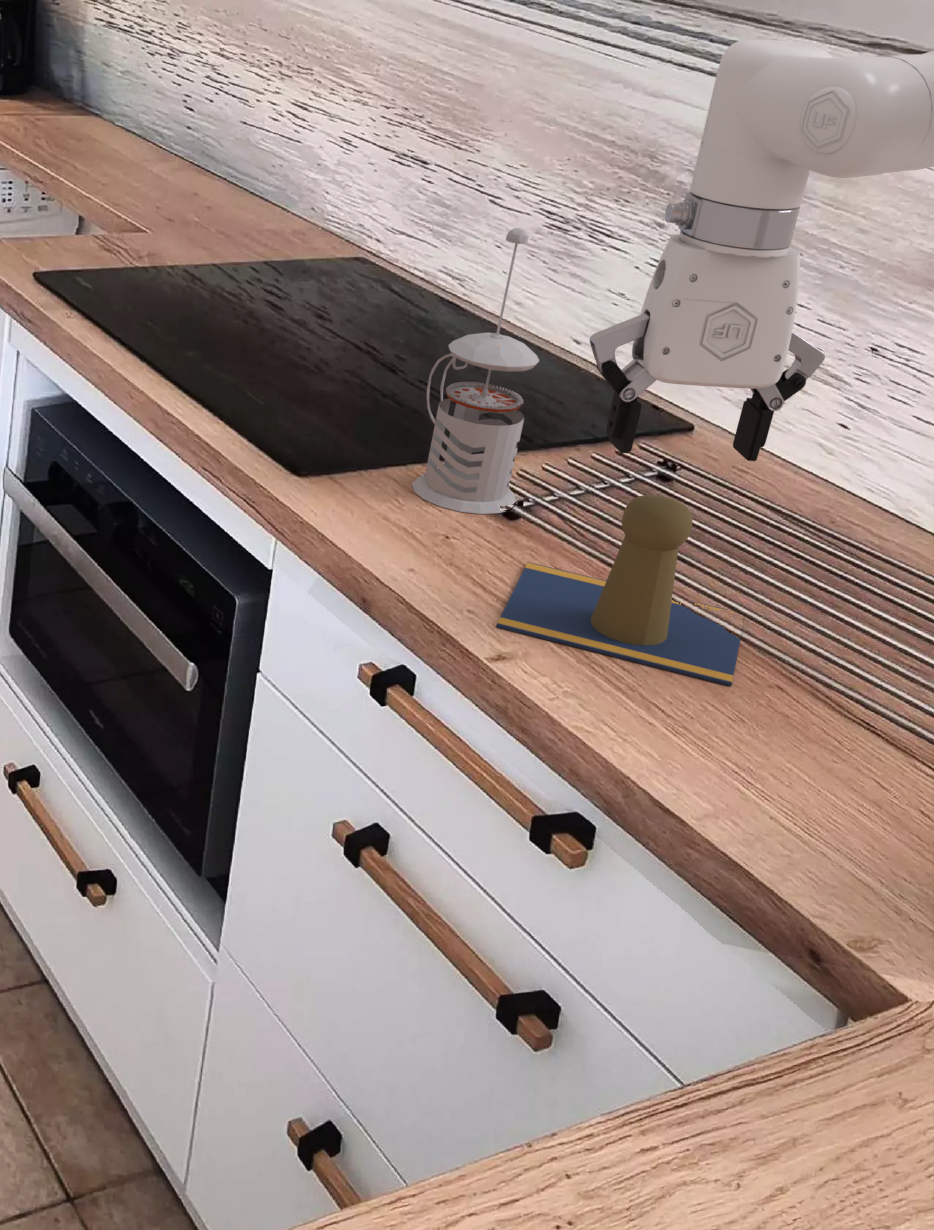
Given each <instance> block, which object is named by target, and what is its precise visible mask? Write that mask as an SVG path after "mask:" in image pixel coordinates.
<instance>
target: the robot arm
mask: <svg viewBox="0 0 934 1230" xmlns="http://www.w3.org/2000/svg"><path fill="white" fill-rule="evenodd" d="M707 110H708V111H707V115H706V119H705V124H704V128H703V133H702V136H701V141H700V145H699V149H698V152H697V158H696V163H695V166H694V170H693V175H692V179H691V184H690V187H689V192H688V191H687V192H686V193H685V196H684V200H683V202H681V201H680V202H678V203H668V204H667V206H666V209H665V212H664V220H665V222H666V223H668V224H669V223H670V224H675V225H676V226H678V227H677V228H678V229H679V230H680V231H679V233H678V234H671V235H670V237H669V238H668V241H667V243H666V245H665V247H664V249H663V251H662V254H661V256H660V258H659V260H658V262H657V265H656V267H655V270H654V273H653V275H652V277H651V280H650V282H649V286H648V289H647V292H646V294H645V298H644V300H643V303H642V308H641V310H640V314H638V315H636V316H633V317H631V318H629V319H626V320H624V321H621V322H619V323H616V324H614V325H611V326H609V327H606V328H604V329H602V330H599V331H597V332H594V333H593V334H591V336H590V337H589V344H590V349H591V352H592V354H593V357H594V360H595V364H596V369H597V371H598V372H599V373H600V375H601V377H603V379H604V380H605V382H606V383H607V384H608V385H609V387H610V389H611V390H612V392H613V396H612V401H611V405H610V406H611V407H610V410H609V415H608V419H607V423H606V430H605V431H606V436H607V437H608V439H609V442H610V443H611V444H612V446H613V447H614V448H615V450H617V451H618V452H619V453H620V454H629V453H630V452H632V450H633V445H634V441H635V437H636V433H637V429H638V425H639V420H640V416H641V411H642V403H641V402H639V400H638V398H639V396H641V394H642V393H644V392H645V391H646V390H647V389H648V388H650V387H651V386H652V385H653V384H654V383H655V382H657V381H658V382H660V383H665V384H671V385H682V386H683V385H685V386H699V387H715V388H730V389H732V388H733V389H750V392H751V393H752V396H751V397H746V398H745V399H746V400H744V401H743V404H742V408H741V412H740V415H739V419H738V423H737V427H736V430H735V433H734V438H733V442H732V448H733V449H734V450H735V451H736V452H737V453H739V455H741V457H742V458H744V459H745V460H746V461H748V462H756V461H757V460H758V456H759V453H760V450H761V448H764V447H765V445H766V443H767V440H768V435H769V432H770V428H771V424H772V422H773V417H774V413H775V412H778V411H780V410H781V409H782V408H783V406H784V404H785V402H786V401H787V400H789V399H790V398H792V397H793V396H794V395H796V394H797V393H799V391H802V390H803V388H804V387H805V386H806V383H807V380H808V379H809V378H811V377H812V376H813V375H814V373H815V372H816V371H817V370H818V368H819V367H820V366H821V365H822V364H823V363H824V361H825V359H826V354H825V353H824V352H823V351H822V350H820V349H819V348H818V347H816V346H815V345H813V344H811V343H810V342H809V341H807V340H806V339H804V338H803V337H802V336H800V335H798V334H797V333H795V332H794V331H793V329H794V322H795V317H796V311H797V305H798V304H797V303H798V295H799V294H798V293H799V285H800V272H801V270H800V269H801V252H800V251H799V250H797V249H795V248H792V247H791V244H792V240H793V235H794V233H795V228H796V225H797V220H798V217H799V213H800V210H801V206H802V203H803V200H804V199H803V198H804V194H805V191H806V187H807V182H808V179H809V176H810V172H814V173H816V174H820V175H822V176H826V177H831V178H836V179H837V178H838V179H839V178H840V179H853V178H854V179H855V178H861V177H871V176H877V175H883V174H889V173H891V174H892V173H900V172H906V171H907V172H908V171H910V172H911V171H919V170H924V169H929V168H934V50H932V51H929V52H925V53H922V54H921V53H920V54H893V55H876V56H862V57H861V56H859V57H833V56H832V55H831V54H830V52H829V51H827V50H825V49H823V48H822V47H818V46H814V45H811V44H806V43H803V42H796V41H788V40H780V39H767V38H766V39H765V38H752V39H749V38H748V39H742V40H739V41H736V42H734V43H732V44H731V45H729V46H728V48H727V49H725V51H724V53H723V54H722V56H721V58H720V61H719V64H718V69H717V72H716V76H715V81H714V85H713V89H712V93H711V98H710V101H709V106H708V109H707ZM631 342H632V347H631V356H632V360H631V361H630V362H628V363H627V364H626V365H625V366H624V367H623V368H620V366H619V365H618V363H617V360H616V359H617V358H616V355H615V354H616V350H617V349H618V348H619V347H622V346H623V345H626V344H629V343H631ZM789 352H790V353H792V354H793V355H794V360H793V362H792V363H791V365H790V367H789V368H787V369H785V366H786V362H787V358H788V354H789Z"/></svg>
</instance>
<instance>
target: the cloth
mask: <svg viewBox="0 0 934 1230" xmlns="http://www.w3.org/2000/svg"><path fill="white" fill-rule="evenodd" d="M606 581H607V579H601V578H597V577H592V576H589V575H585V574H580V573H577V572H576V573H575V572H572V571H568V570H563V569H559V568H555V567H550V566H546V565H542V564H538V563H535V562H534V563H533V562H529V561H527V562H526V565H525V567H524V568H523V570H522V572H521V574H520V577H519V579H518V581H517V582H516V585H515V586H514V588H513V590H512V593H511V595H510V597H509V599H508V601H507V603H506V605H505V606H504V609H503V611H502V613H501V615H500V617H499V618H498V621H497V623H496V625H495V627H496V628H497V629H501V630H506V631H511V632H514V633H518V634H522V635H525V636H529V637H534V638H538V639H542V640H546V641H549V642H552V643H553V642H554V643H558V644H562V645H566V646H569V647H574V648H577V649H581V650H586V651H590V652H593V653H598V654H601V655H604V656H610V657H613V658H617V659H621V660H625V661H629V662H634V663H638V664H640V665H644V666H649V667H653V668H657V669H660V670H665V671H667V672H668V671H669V672H673V673H676V674H680V675H685V676H688V677H693V678H696V679H699V680H705V681H708V682H711V683H716V684H720V685H725V686H728V687H732V685H733V681H734V675H735V669H736V665H737V660H738V655H739V648H740V643H741V639H740V638H737V637H736V636H735V635H733V634H731V633H729V632H728V631H726V630H725V629H724V628H723V627H722V626H720V625H718V624H716V623H715V622H713V621H710V620H708V619H707V618H703V617H701V616H699V615H697V614H695V613H694V612H692V611H691V610H690V609H687V608H686V607H684V606H682V605H681V603H680V604H679V603H678V602H675V601H673V600H672V603H671V610H670V618H669V626H668V634H667V639H666V640H665V641H664V642H662V643H659V644H656V645H634V644H628V643H624V642H619V641H617V640H614V639H611V638H609V637H607V636H605V635H603V634H601V633H599V632H598V631H597V630H596V629H595V628H594V627H593V626H592V624H591V622H590V621H591V617H592V614H593V612H594V610H595V607H596V605H597V602H598V600H599V598H600V595H601V593H602V590H603V588H604V586H605V583H606ZM690 601H691V602H695V601H694V600H690ZM696 602H697V601H696ZM695 605H696V603H695ZM697 605H702V607H704V605H705V607H709V609H710V607H711V610H712V608H713V610H726V611H727V610H729V611H730V610H731V609H727V608H722V607H719V606H714V605H710V604H706V603H701V602H697ZM707 605H708V606H707ZM714 608H715V609H714ZM732 611H733V612H732ZM734 611H735V610H731V611H730V613H735V612H734Z"/></svg>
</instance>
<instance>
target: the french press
mask: <svg viewBox="0 0 934 1230" xmlns="http://www.w3.org/2000/svg"><path fill="white" fill-rule="evenodd" d="M505 241H506V242H508V243H511V244H514V247H513V252H512V256H511V262H510V268H509V271H508V275H507V280H506V285H505V291H504V296H503V298H502V299H503V300H502V305H501V310H500V314H499V319H498V324H497V328H496V332H480V333H471V334H466V335H464V336H462V337H459V338H457V339H454V340H452V341H451V342H450V343H449V344H448V346H447V347H448V349H449V351H450V353H448V354H445V355H443V356H441V357H440V358H438V359H437V361H436V362H435V364H434V366H433V367H432V368H431V370H430V374H429V376H428V381H427V386H426V387H427V388H426V407H427V411H428V415H429V417H430V420H431V421H432V423H433V424H434V427H433V432H432V437H431V442H430V448H429V452H428V457H427V463H426V467H425V472H423V474H421V475H419V476H418V477H417V478H415V480H414V481H413V482H412V483H411V486H412V490H413V492H414V493H415V494H416V495H418V496H419V497H420V498H421V499H423V500H425V501H426V502H429V503H430V504H433V505H435V506H438V507H440V508H444V509H448V510H452V511H456V512H460V513H467V514H468V513H469V514H478V515H489V514H490V515H491V514H501V513H504V512H505V511H501V510H500V506H506V505H512V504H514V503H515V502H516V501H517V499H516V497H515V494H514V493H513V491H512V490H511V489H510V481H511V480H512V476H513V471H512V470H513V469H514V467H515V457H516V456H517V455H518V443H519V442H520V440H521V435H522V431H523V427H524V422H525V417H524V414H523V412H521V411H520V410H519V409H520V408H521V407H522V406H523V405H524V404H525V401H524V398H523V397H522V396H521V395H520V393H518V392H515V391H514V390H511V389H508V388H507V387H506V388H505V387H502V385H501V386H498V385H496V386H495V384H489V383H490V378H491V373H492V371H499V372H524V371H529V370H532V369H534V367H535V366H537V364H539V362H540V358H539V356H538V354H536V353H535V352H534V351H533V350H532V349H531V348H530V347H529V346H528V345H526V343H524V342H522V341H520V340H518V339H515V338H514V337H511V336H509V335H505V334H504V335H503V334H501V333H500V330H501V327H502V326H501V325H502V320H503V316H504V311H505V306H506V301H507V298H508V292H509V288H510V283H511V277H512V273H513V272H512V271H513V269H514V264H515V258H516V254H517V249H518V245H526V244H528V242H529V233H528V232H527V230H526V229H524V228H520V227H514V228H512V229H510V230H509V231H507V234H506V237H505ZM450 357H452V358H451V360H450V361H449V362H448V364H447V365H446V367H445V368H444V371H443V373H442V379H441V382H440V387H439V394H440V402H439V403H438V406H437V412H436V415H435V417H434V415H433V413H432V410H431V405H430V391H431V390H430V388H431V384H432V383H431V382H432V377H433V374H434V372H435V371H436V369H437V368H438V366H439V364H440V363H442V361H444V360H445V359H446V358H450ZM457 359H458V360H459V361H461V362H464V363H465V364H464V365H462V366H456V362H457ZM451 365H452V369H454V370H455V371H458V370H463V369H466V368H468V365H471V366H475V367H478V368H482V369H486V370H488V371H487V376H486V381H485V383H484V382H482V383H481V382H477V381H462V382H461V381H459V382H454V383H451V384H449V385H448V386H447V387H446V388H444V387H445V381H446V376H447V372H448V370H449V368H450V366H451ZM444 392H445V394H446V397H447V398H445V399H444ZM451 402H453V403H455V407H454V413H453V416H452V415H450V414H449V410H450V406H451ZM489 413H490V414H501V415H503V416H505V417H506V418H508V419H509V420H511V424H508V423H505V422H504V421H503V420H501V419H492V418H485V419H480V420H479V418H480V415H485V414H489ZM446 430H447V431H448V432H449V436H447V435H446V433H445V431H446ZM443 443H444V444H445V445H446V450H445V449H444V448H443ZM440 456H441V457H442V458H443V459H444V461H443V462H442V461H441V460H440Z"/></svg>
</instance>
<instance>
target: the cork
mask: <svg viewBox="0 0 934 1230" xmlns="http://www.w3.org/2000/svg"><path fill="white" fill-rule="evenodd" d="M692 528H693V515H692V512H691V510H690V508H689V507H688V506H686V505H685V504H684V503H682V502H681V501H679V500H678V499H675V498H671V497H668V496H664V495H659V494H644V495H643V494H642V495H640V496H636V497H634V498H632V500H631V501H629V502H628V503H627V504H626V506H625V508H624V509H623V514H622V518H621V529H622V531H623V533H624V537H623V540H622V543H621V545H620V547H619V549H618V551H617V554H616V557H615V558H614V559H615V560H614V562H613V564H612V566H611V569H610V572H609V573H608V576H607V578H606V583H605V586H604V588H603V590H602V593H601V595H600V598H599V600H598V602H597V605H596V607H595V610H594V612H593V614H592V617H591V621H590V622H591V624H592V626H593V627H594V628H595V629H596V630H597V631H598V632H599V633H601V634H603V635H605V636H607V637H609V638H611V639H614V640H617V641H619V642H624V643H628V644H634V645H656V644H659V643H662V642H664V641H665V640H666V639H667V634H668V626H669V618H670V610H671V603H672V596H673V594H674V593H673V592H674V587H675V586H674V585H675V580H676V579H675V578H676V570H677V562H678V553H679V548H680V547H681V546H682V545H684V544H685V543H686V542H687V541H688V539H689V537H690V535H691V532H692Z"/></svg>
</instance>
